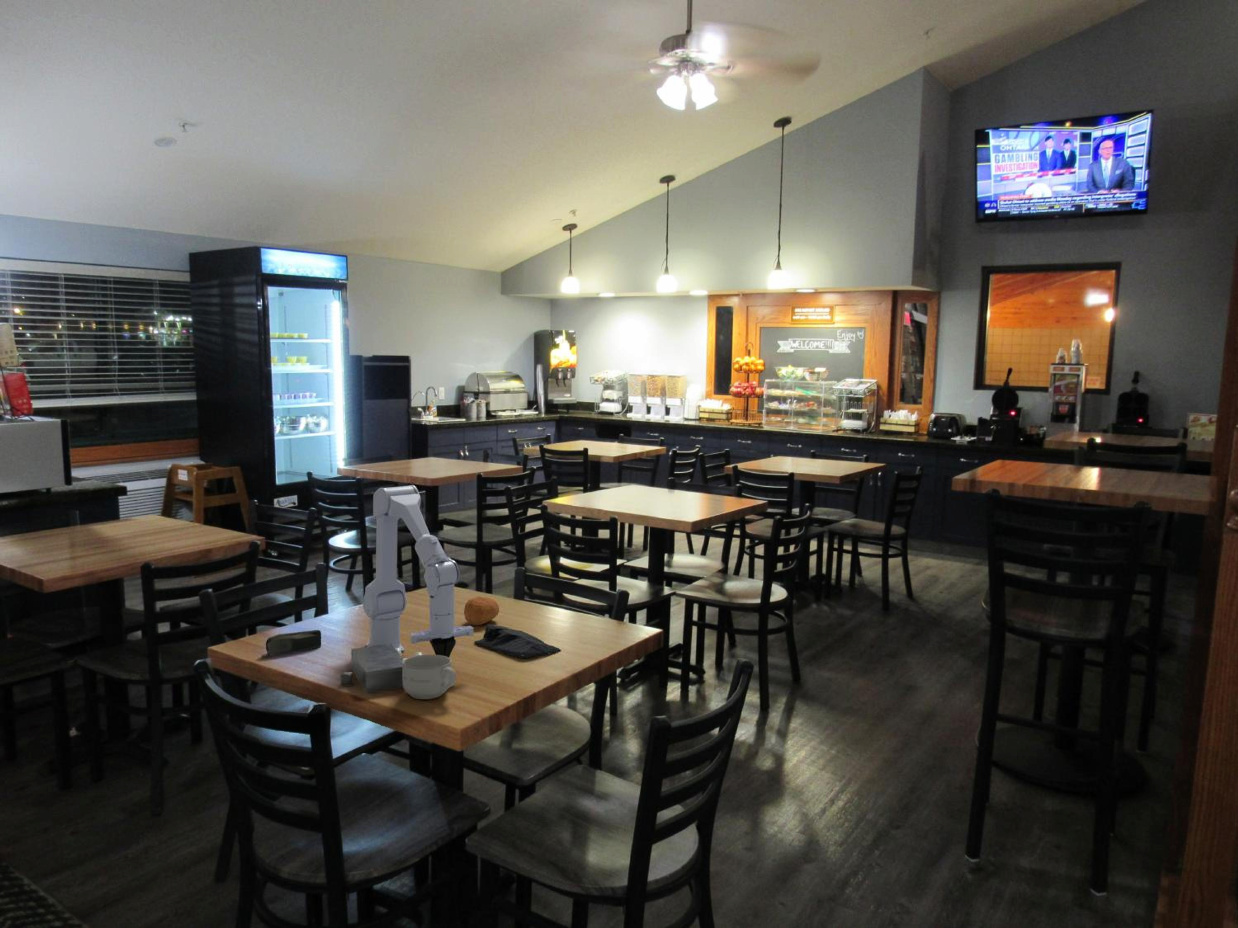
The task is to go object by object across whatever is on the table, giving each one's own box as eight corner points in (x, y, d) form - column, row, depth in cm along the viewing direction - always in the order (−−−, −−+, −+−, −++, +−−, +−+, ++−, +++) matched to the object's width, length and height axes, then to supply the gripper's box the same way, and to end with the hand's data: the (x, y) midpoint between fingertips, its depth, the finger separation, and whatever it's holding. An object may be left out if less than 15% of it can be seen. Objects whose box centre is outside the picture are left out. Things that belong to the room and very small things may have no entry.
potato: (455, 623, 243) (455, 598, 242) (484, 615, 252) (483, 590, 251) (478, 629, 237) (478, 603, 236) (506, 620, 246) (506, 595, 245)
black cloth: (516, 665, 209) (516, 646, 209) (469, 644, 226) (469, 626, 225) (565, 653, 220) (565, 635, 219) (517, 633, 236) (517, 616, 235)
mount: (351, 668, 205) (351, 648, 204) (391, 662, 209) (391, 643, 208) (366, 693, 189) (366, 671, 188) (409, 686, 193) (408, 665, 193)
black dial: (339, 682, 195) (339, 672, 195) (352, 681, 196) (352, 670, 196) (341, 686, 193) (341, 675, 192) (354, 685, 194) (354, 674, 194)
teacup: (393, 694, 189) (392, 659, 188) (435, 682, 196) (434, 648, 195) (426, 712, 179) (426, 675, 178) (469, 698, 186) (469, 663, 185)
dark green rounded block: (318, 627, 222) (259, 636, 213) (322, 630, 220) (262, 639, 211) (318, 646, 223) (259, 655, 213) (322, 648, 220) (262, 658, 211)
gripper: (415, 620, 192) (416, 678, 193) (477, 612, 198) (477, 669, 200) (408, 612, 198) (408, 668, 199) (468, 605, 205) (468, 660, 206)
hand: (442, 668), depth 200 cm, fingers closed
